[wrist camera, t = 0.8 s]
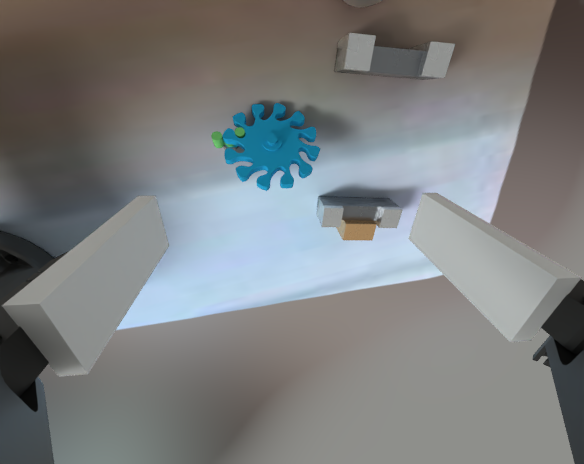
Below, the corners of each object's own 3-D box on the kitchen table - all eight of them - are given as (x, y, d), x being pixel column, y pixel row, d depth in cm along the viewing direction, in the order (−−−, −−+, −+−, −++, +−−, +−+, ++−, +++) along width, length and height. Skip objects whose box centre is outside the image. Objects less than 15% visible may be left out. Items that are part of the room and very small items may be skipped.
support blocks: (315, 225, 35) (320, 239, 31) (338, 40, 24) (350, 32, 21) (381, 226, 36) (393, 240, 32) (430, 50, 25) (457, 43, 22)
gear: (327, 109, 26) (314, 193, 23) (316, 143, 31) (304, 214, 29) (223, 87, 25) (197, 170, 22) (231, 126, 31) (211, 196, 28)
